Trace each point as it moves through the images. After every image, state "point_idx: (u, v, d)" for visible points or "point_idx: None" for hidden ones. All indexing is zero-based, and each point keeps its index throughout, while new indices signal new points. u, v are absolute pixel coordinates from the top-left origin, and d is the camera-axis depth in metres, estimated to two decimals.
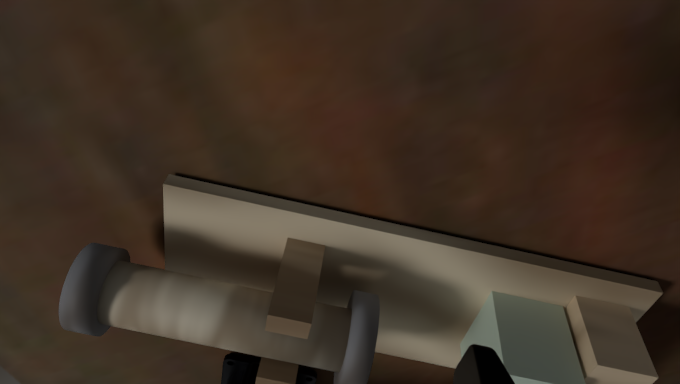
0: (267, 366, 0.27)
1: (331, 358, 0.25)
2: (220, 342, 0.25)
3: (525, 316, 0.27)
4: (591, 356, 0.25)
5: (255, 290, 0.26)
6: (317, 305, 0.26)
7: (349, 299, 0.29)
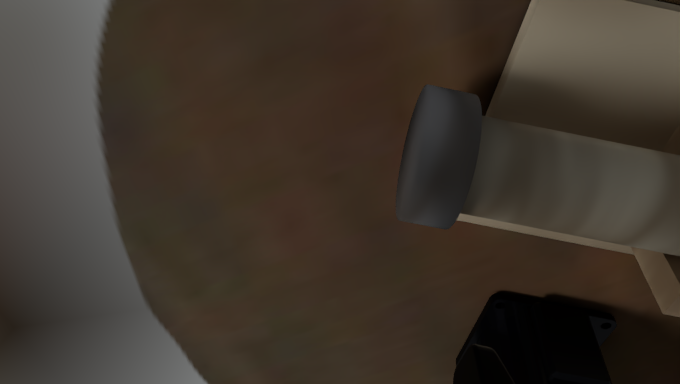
0: None
1: None
2: (655, 230, 0.16)
3: None
4: None
5: (678, 155, 0.17)
6: None
7: None
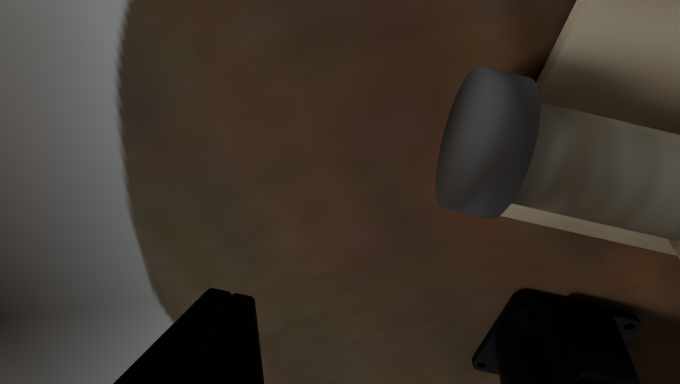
0: None
1: None
2: None
3: None
4: None
5: None
6: None
7: None
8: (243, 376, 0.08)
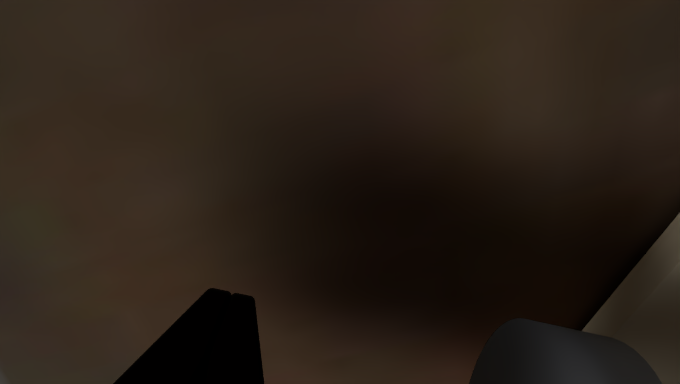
0: None
1: None
2: None
3: None
4: None
5: None
6: None
7: None
8: (243, 376, 0.08)
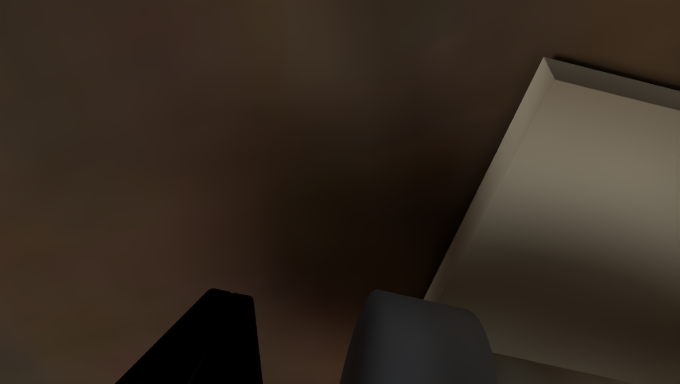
0: None
1: None
2: None
3: None
4: None
5: None
6: None
7: None
8: (242, 375, 0.08)
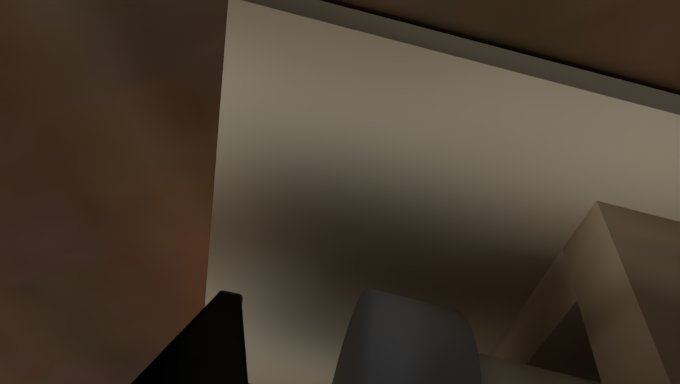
0: None
1: None
2: None
3: None
4: None
5: None
6: None
7: None
8: (227, 373, 0.08)
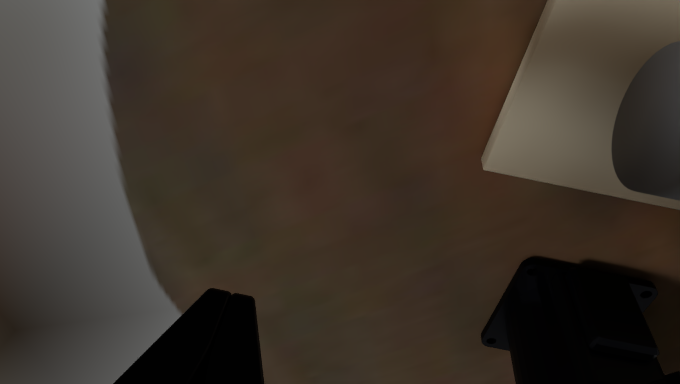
0: None
1: None
2: None
3: None
4: None
5: None
6: None
7: None
8: (243, 376, 0.08)
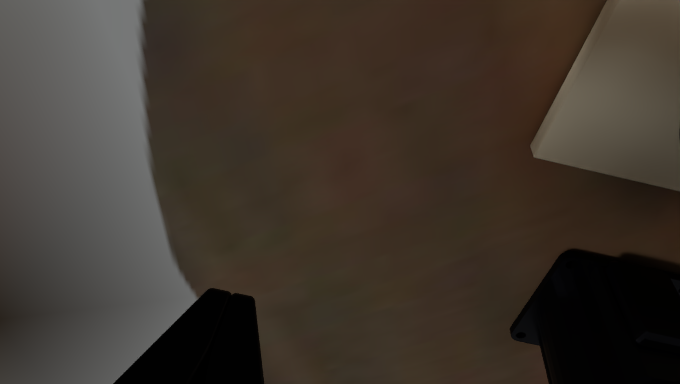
0: None
1: None
2: None
3: None
4: None
5: None
6: None
7: None
8: (243, 376, 0.08)
